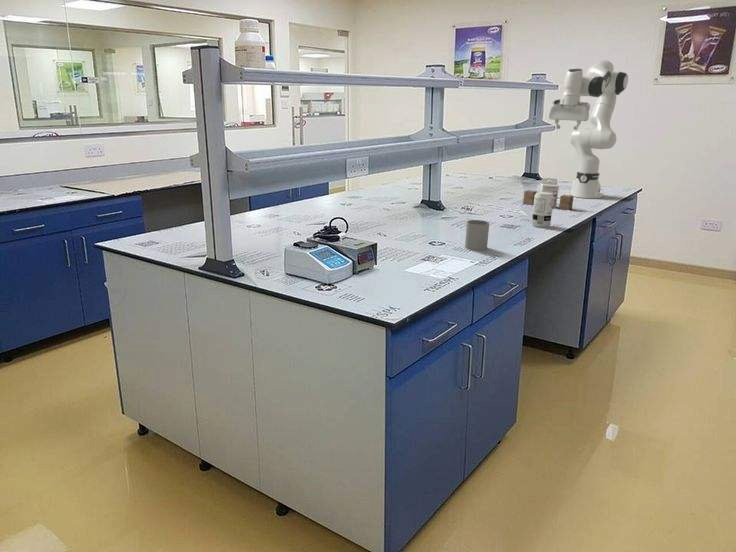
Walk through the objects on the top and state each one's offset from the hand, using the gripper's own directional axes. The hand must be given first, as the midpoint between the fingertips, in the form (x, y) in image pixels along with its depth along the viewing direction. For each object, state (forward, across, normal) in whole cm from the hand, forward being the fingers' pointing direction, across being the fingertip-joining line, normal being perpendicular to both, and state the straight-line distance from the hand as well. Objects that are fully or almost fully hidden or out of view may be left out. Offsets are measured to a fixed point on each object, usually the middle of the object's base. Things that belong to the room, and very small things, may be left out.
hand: (566, 129), depth 298 cm
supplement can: (+42, -17, +55) cm, 71 cm away
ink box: (+40, +2, +7) cm, 41 cm away
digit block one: (+40, -8, +7) cm, 42 cm away
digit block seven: (+40, +12, +8) cm, 43 cm away
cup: (+44, -16, +111) cm, 120 cm away
